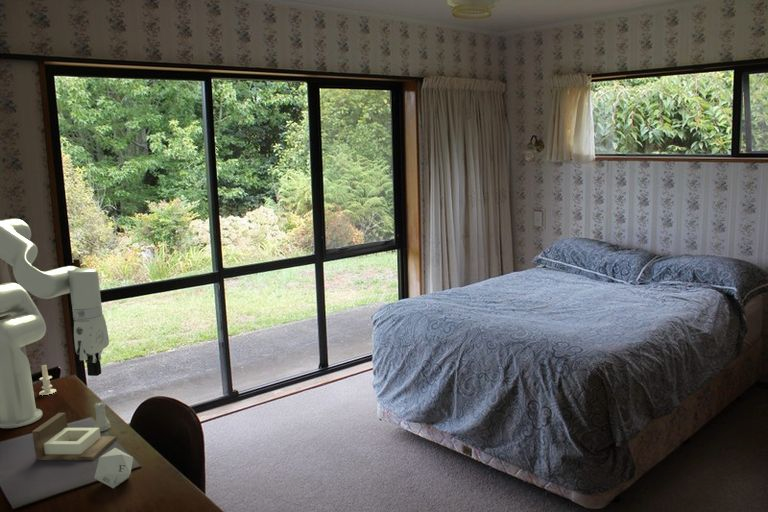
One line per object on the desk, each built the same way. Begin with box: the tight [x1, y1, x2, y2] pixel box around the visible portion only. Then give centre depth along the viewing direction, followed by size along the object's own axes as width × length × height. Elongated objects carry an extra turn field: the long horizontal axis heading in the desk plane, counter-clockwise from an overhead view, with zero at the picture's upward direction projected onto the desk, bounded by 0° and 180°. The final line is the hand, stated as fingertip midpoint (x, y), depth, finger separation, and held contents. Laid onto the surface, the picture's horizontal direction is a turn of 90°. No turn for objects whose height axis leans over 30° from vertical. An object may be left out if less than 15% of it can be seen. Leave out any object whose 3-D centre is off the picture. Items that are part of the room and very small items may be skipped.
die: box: [94, 447, 134, 489], centre depth 159 cm, size 8×9×10 cm
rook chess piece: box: [93, 400, 112, 433], centre depth 190 cm, size 4×4×8 cm
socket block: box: [44, 427, 101, 454], centre depth 178 cm, size 10×10×3 cm
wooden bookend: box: [31, 412, 118, 461], centre depth 178 cm, size 16×12×8 cm
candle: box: [38, 364, 57, 397], centre depth 221 cm, size 5×5×10 cm
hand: (94, 374), depth 188 cm, fingers closed
